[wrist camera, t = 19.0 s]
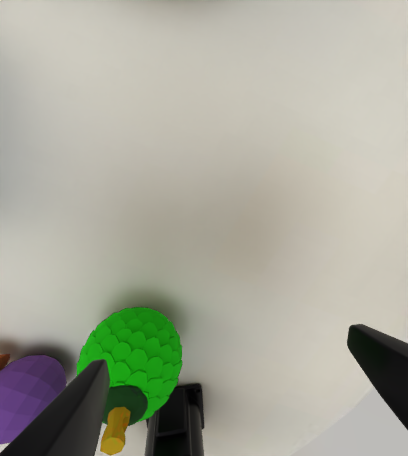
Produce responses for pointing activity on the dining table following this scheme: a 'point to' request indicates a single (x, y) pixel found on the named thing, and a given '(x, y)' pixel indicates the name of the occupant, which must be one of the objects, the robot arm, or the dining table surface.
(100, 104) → the dining table surface
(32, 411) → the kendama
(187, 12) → the dining table surface
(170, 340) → the ornament
